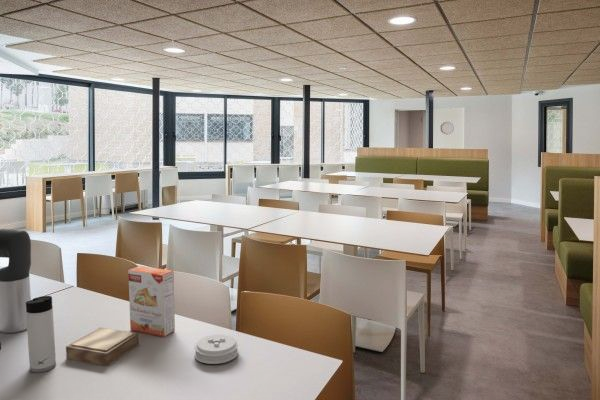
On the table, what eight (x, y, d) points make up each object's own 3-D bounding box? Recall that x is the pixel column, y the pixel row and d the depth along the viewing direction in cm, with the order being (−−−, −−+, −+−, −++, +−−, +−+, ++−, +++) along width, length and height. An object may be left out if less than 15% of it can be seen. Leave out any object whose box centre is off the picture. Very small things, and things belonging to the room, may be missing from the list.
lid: (245, 350, 135) (245, 334, 135) (225, 370, 123) (225, 353, 123) (208, 343, 139) (208, 328, 139) (185, 362, 128) (185, 345, 127)
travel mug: (45, 374, 119) (41, 302, 117) (24, 371, 121) (19, 300, 118) (62, 363, 125) (58, 294, 123) (41, 360, 127) (37, 292, 124)
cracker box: (129, 330, 148) (127, 269, 145) (142, 324, 153) (140, 264, 151) (163, 338, 142) (162, 274, 140) (175, 331, 148) (174, 269, 145)
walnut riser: (66, 358, 128) (65, 345, 128) (100, 338, 142) (100, 326, 141) (107, 365, 124) (106, 352, 124) (138, 344, 138) (138, 332, 137)
